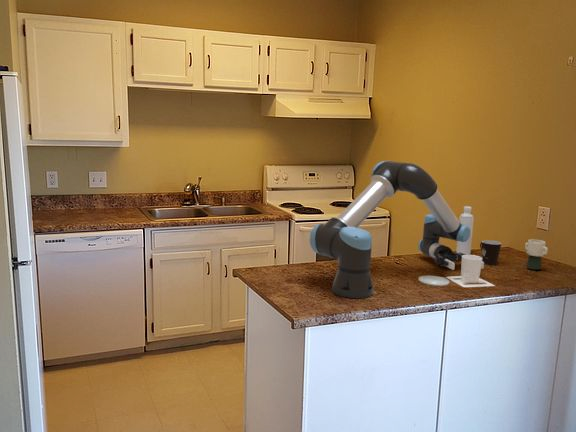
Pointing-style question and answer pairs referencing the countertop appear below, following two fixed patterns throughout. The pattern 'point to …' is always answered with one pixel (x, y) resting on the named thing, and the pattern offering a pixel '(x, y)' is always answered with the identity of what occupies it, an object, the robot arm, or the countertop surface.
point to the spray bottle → (468, 221)
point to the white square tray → (464, 284)
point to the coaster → (434, 280)
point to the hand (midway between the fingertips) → (468, 265)
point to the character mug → (535, 253)
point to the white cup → (470, 268)
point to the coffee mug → (490, 251)
